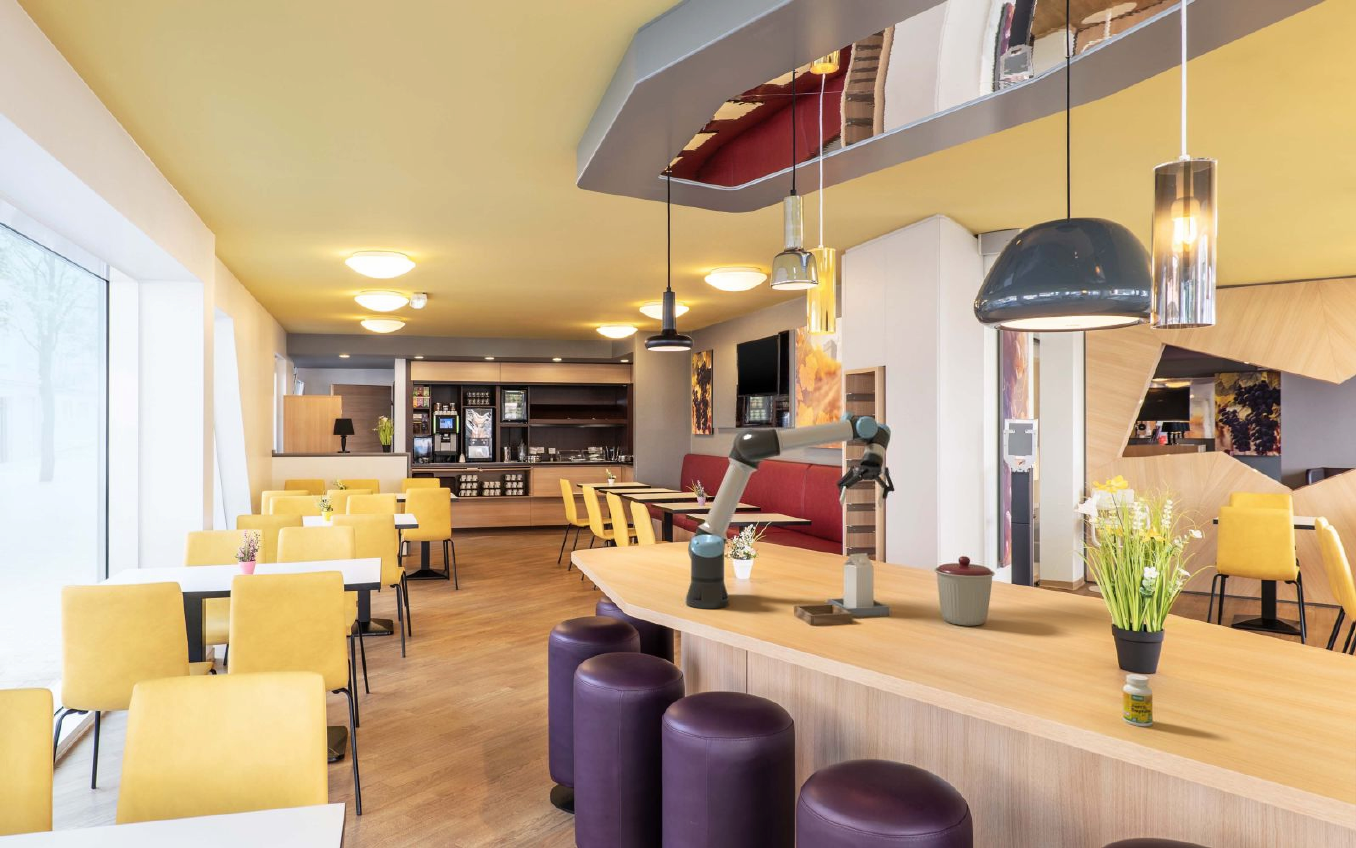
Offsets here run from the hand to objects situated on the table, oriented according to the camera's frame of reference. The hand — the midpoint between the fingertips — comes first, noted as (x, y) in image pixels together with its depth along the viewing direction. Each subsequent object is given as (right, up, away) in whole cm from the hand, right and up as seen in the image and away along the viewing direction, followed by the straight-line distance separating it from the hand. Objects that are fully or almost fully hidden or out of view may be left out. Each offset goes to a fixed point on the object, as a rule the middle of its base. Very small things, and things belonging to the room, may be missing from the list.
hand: (860, 503), depth 275 cm
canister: (+28, -36, -21) cm, 51 cm away
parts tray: (-2, -36, -7) cm, 36 cm away
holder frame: (-16, -35, -18) cm, 43 cm away
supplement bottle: (+34, -35, -107) cm, 118 cm away
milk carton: (-2, -35, -7) cm, 36 cm away
